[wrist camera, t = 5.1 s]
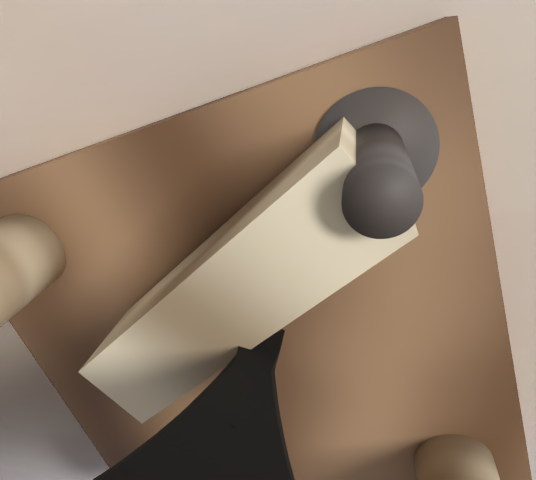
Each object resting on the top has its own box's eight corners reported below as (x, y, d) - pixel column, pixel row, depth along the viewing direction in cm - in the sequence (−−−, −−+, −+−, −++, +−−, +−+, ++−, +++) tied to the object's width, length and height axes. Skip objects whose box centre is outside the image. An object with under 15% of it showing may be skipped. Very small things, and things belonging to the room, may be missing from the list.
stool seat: (147, 476, 18) (90, 600, 14) (-36, 191, 13) (-199, 260, 9) (519, 450, 14) (583, 618, 10) (445, 17, 9) (513, 10, 5)
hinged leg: (366, 95, 9) (370, 126, 6) (427, 167, 9) (456, 226, 6) (127, 310, 12) (65, 387, 10) (178, 355, 13) (132, 440, 10)
